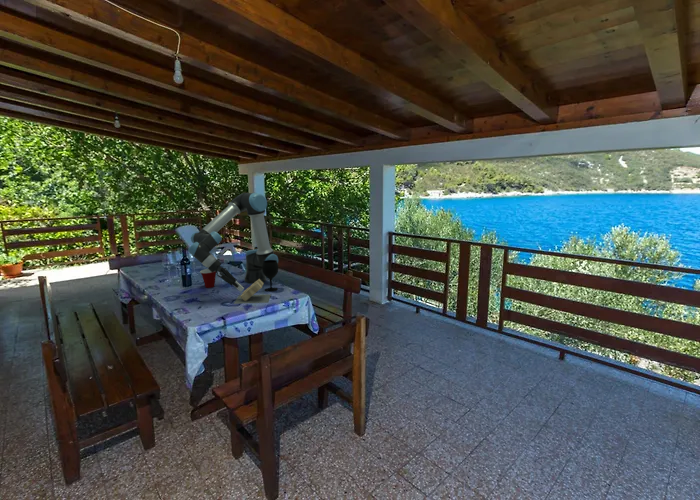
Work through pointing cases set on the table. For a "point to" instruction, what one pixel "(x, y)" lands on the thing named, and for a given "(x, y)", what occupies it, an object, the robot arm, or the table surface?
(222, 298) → the table surface
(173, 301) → the table surface
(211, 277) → the plastic cup
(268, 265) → the wine glass
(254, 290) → the oak board
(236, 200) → the robot arm
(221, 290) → the table surface
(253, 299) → the rubber mat
